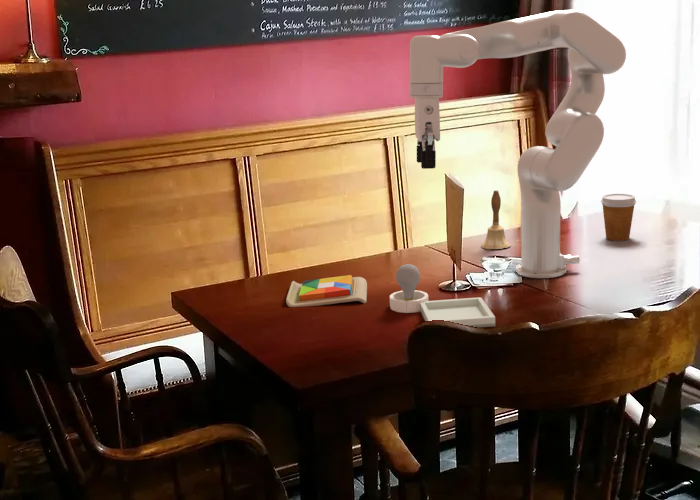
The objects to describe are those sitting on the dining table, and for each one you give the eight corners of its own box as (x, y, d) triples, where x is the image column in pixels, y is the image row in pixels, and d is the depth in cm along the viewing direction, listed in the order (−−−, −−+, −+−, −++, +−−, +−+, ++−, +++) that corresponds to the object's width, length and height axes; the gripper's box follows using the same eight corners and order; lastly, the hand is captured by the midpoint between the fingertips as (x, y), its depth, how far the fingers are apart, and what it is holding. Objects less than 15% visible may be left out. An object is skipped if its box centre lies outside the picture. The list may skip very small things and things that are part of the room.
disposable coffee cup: (639, 241, 248) (640, 199, 245) (605, 243, 248) (606, 200, 245) (629, 233, 257) (630, 192, 254) (596, 235, 257) (597, 194, 254)
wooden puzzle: (292, 287, 224) (291, 274, 223) (367, 284, 223) (366, 270, 222) (285, 309, 207) (284, 295, 206) (366, 305, 206) (365, 291, 206)
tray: (481, 305, 200) (481, 297, 200) (495, 326, 187) (495, 317, 186) (419, 310, 200) (419, 301, 199) (429, 330, 186) (429, 321, 186)
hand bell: (489, 241, 256) (488, 187, 252) (515, 244, 251) (515, 189, 247) (475, 248, 250) (474, 192, 246) (502, 251, 245) (502, 194, 241)
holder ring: (425, 299, 207) (424, 288, 206) (430, 311, 199) (430, 300, 198) (388, 302, 206) (388, 291, 206) (392, 313, 198) (392, 302, 197)
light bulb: (419, 310, 199) (418, 267, 197) (395, 310, 200) (393, 267, 198) (422, 303, 204) (421, 261, 202) (399, 302, 206) (397, 261, 203)
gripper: (447, 93, 195) (447, 170, 199) (437, 88, 212) (437, 159, 216) (413, 93, 195) (413, 171, 199) (406, 88, 211) (406, 160, 215)
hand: (425, 165), depth 207 cm, fingers open, 9 cm apart
